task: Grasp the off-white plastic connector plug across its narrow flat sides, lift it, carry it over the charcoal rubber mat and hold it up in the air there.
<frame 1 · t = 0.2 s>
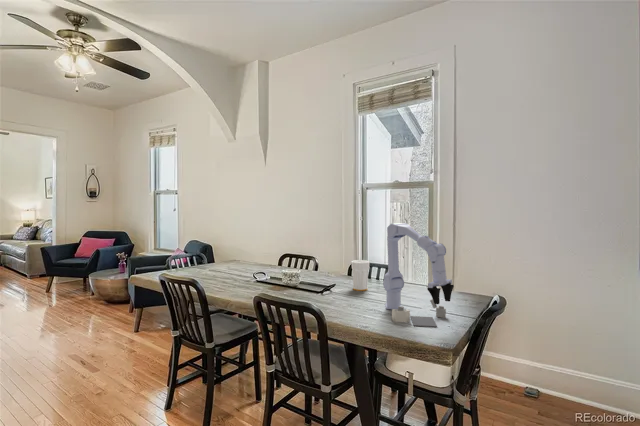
hand: (442, 302, 152), 10 cm above the table, tool pointing down, fingers open, 7 cm apart
lighter: (437, 316, 165), on the table
connector: (400, 320, 159), on the table
cup: (360, 289, 216), on the table
mat: (423, 322, 158), on the table
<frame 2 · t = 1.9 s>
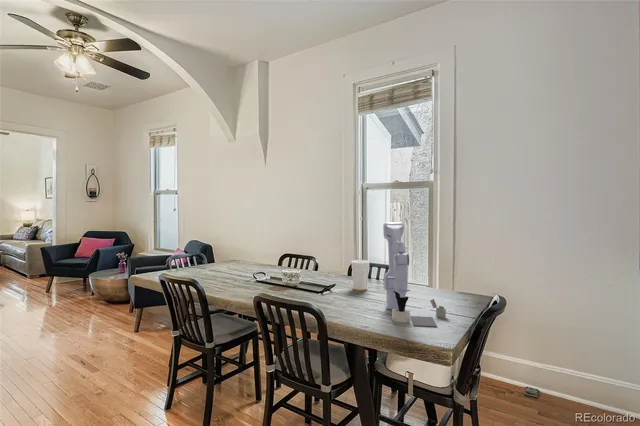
hand: (400, 308, 159), 6 cm above the table, tool pointing down, fingers open, 7 cm apart
nothing on the table moved.
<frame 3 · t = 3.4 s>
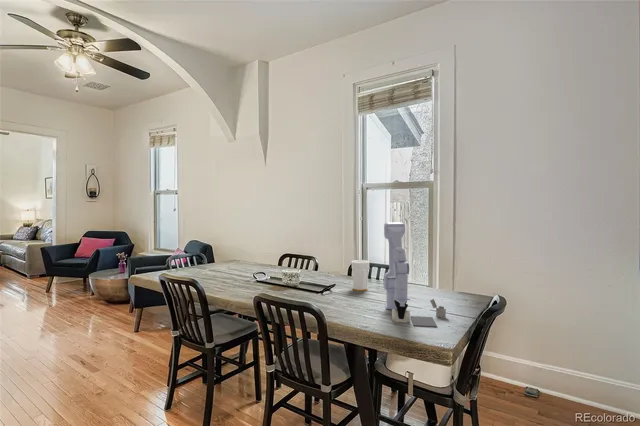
hand: (400, 317, 159), 2 cm above the table, tool pointing down, fingers closed on connector, 3 cm apart
connector: (400, 320, 159), on the table, touching gripper
everything else where it was.
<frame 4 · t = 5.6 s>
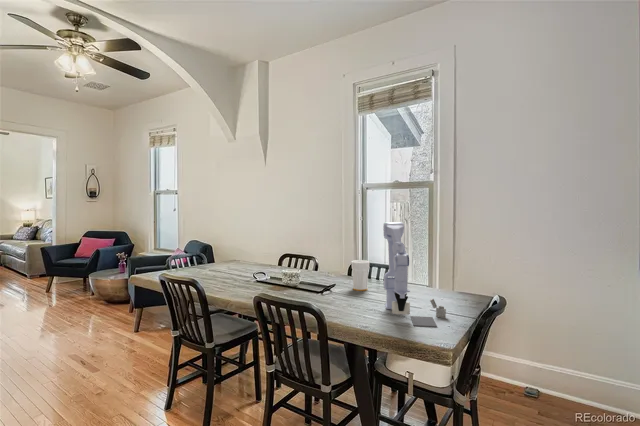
hand: (400, 309, 159), 5 cm above the table, tool pointing down, fingers closed on connector, 3 cm apart
connector: (400, 313, 159), point 4 cm above the table, touching gripper
everything else where it was.
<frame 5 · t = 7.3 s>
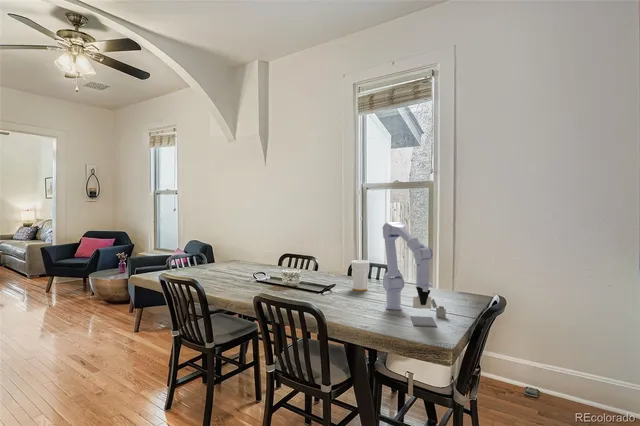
hand: (422, 303, 157), 8 cm above the table, tool pointing down, fingers closed on connector, 3 cm apart
connector: (422, 307, 157), point 7 cm above the table, touching gripper
everything else where it was.
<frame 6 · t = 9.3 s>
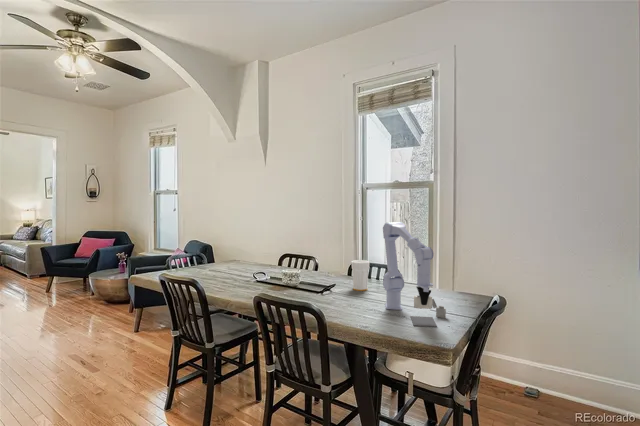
hand: (423, 303, 157), 8 cm above the table, tool pointing down, fingers closed on connector, 3 cm apart
connector: (422, 307, 157), point 7 cm above the table, touching gripper
everything else where it was.
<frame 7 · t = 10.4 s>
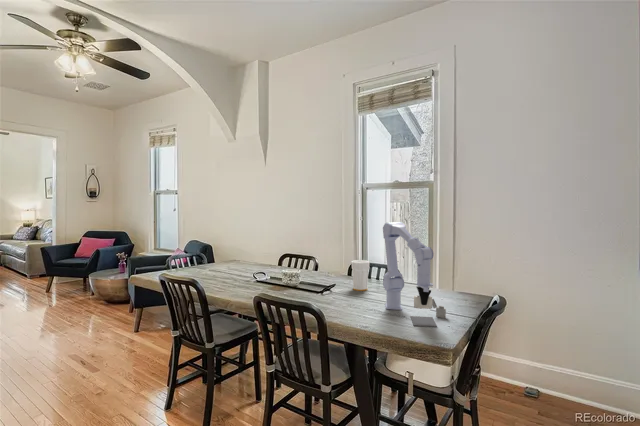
hand: (423, 303, 157), 8 cm above the table, tool pointing down, fingers closed on connector, 3 cm apart
connector: (422, 307, 157), point 7 cm above the table, touching gripper
everything else where it was.
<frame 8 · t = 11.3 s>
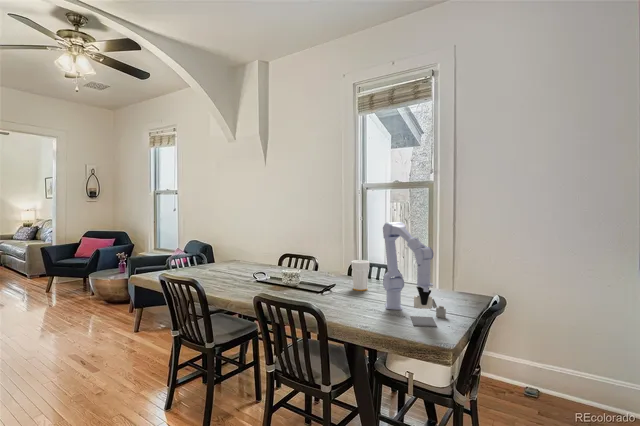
hand: (423, 303, 157), 8 cm above the table, tool pointing down, fingers closed on connector, 3 cm apart
connector: (422, 307, 157), point 7 cm above the table, touching gripper
everything else where it was.
at the end: the gripper is holding connector; connector point 6.7 cm above the table; connector 0.2 cm from the mat (horizontally) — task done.
